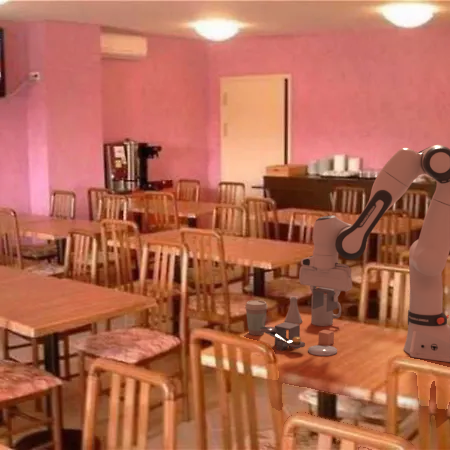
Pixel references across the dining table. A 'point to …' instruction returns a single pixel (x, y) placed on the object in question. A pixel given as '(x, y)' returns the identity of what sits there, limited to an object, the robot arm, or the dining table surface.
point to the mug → (323, 314)
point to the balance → (283, 339)
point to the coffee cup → (256, 316)
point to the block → (326, 337)
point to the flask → (293, 312)
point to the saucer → (322, 350)
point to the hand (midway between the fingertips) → (325, 299)
